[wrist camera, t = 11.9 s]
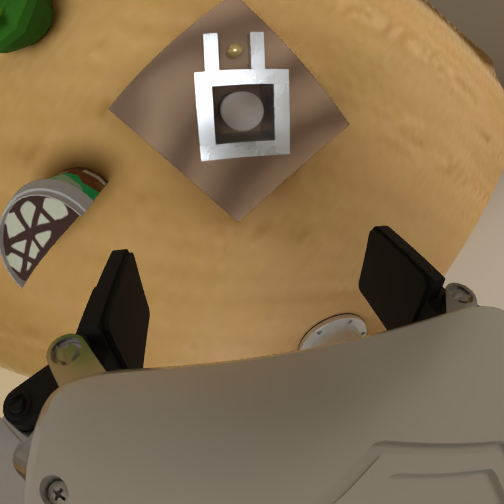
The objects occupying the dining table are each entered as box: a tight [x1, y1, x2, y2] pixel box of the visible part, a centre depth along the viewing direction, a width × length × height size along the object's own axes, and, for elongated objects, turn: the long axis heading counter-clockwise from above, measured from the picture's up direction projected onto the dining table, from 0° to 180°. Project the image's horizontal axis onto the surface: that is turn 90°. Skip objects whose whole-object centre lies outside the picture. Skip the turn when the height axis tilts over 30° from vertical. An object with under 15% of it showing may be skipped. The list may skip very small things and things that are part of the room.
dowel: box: [226, 43, 243, 59], centre depth 20 cm, size 1×1×2 cm
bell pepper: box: [0, 0, 53, 53], centre depth 10 cm, size 8×8×10 cm
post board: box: [108, 0, 349, 222], centre depth 23 cm, size 18×16×6 cm
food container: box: [0, 167, 108, 288], centre depth 22 cm, size 12×6×10 cm, turn 123°
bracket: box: [194, 32, 290, 161], centre depth 21 cm, size 11×7×6 cm, turn 2°
